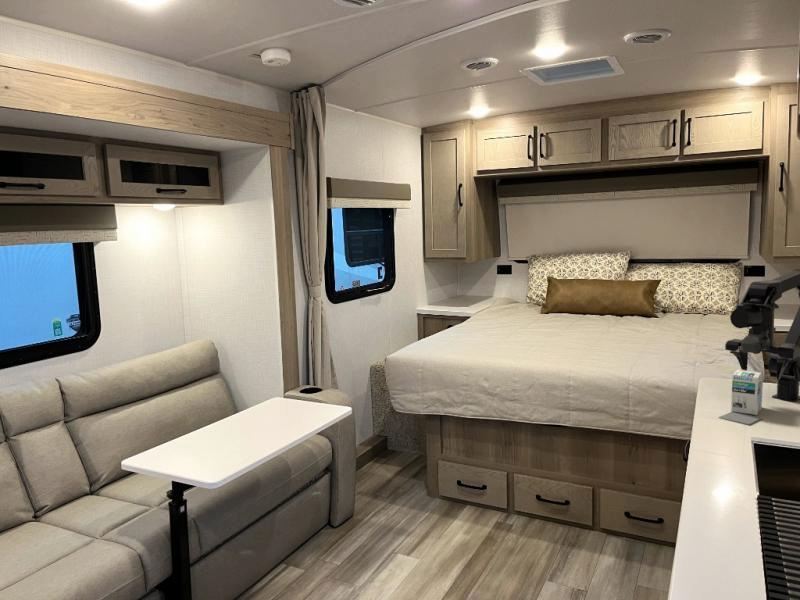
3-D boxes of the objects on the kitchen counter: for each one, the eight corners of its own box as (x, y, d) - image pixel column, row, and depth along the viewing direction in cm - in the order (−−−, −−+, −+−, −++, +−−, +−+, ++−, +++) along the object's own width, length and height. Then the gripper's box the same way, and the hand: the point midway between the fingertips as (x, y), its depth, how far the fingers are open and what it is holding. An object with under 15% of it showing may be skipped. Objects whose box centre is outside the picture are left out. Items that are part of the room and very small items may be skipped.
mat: (732, 412, 173) (732, 411, 173) (762, 419, 167) (762, 417, 167) (718, 418, 168) (718, 417, 168) (748, 425, 162) (748, 423, 162)
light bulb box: (757, 415, 168) (759, 377, 167) (730, 411, 172) (731, 374, 172) (762, 407, 177) (763, 371, 176) (736, 404, 181) (737, 368, 180)
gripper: (716, 325, 180) (715, 376, 182) (785, 331, 165) (783, 387, 167) (734, 320, 186) (733, 370, 188) (802, 326, 171) (800, 380, 173)
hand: (761, 376), depth 179 cm, fingers open, 9 cm apart
